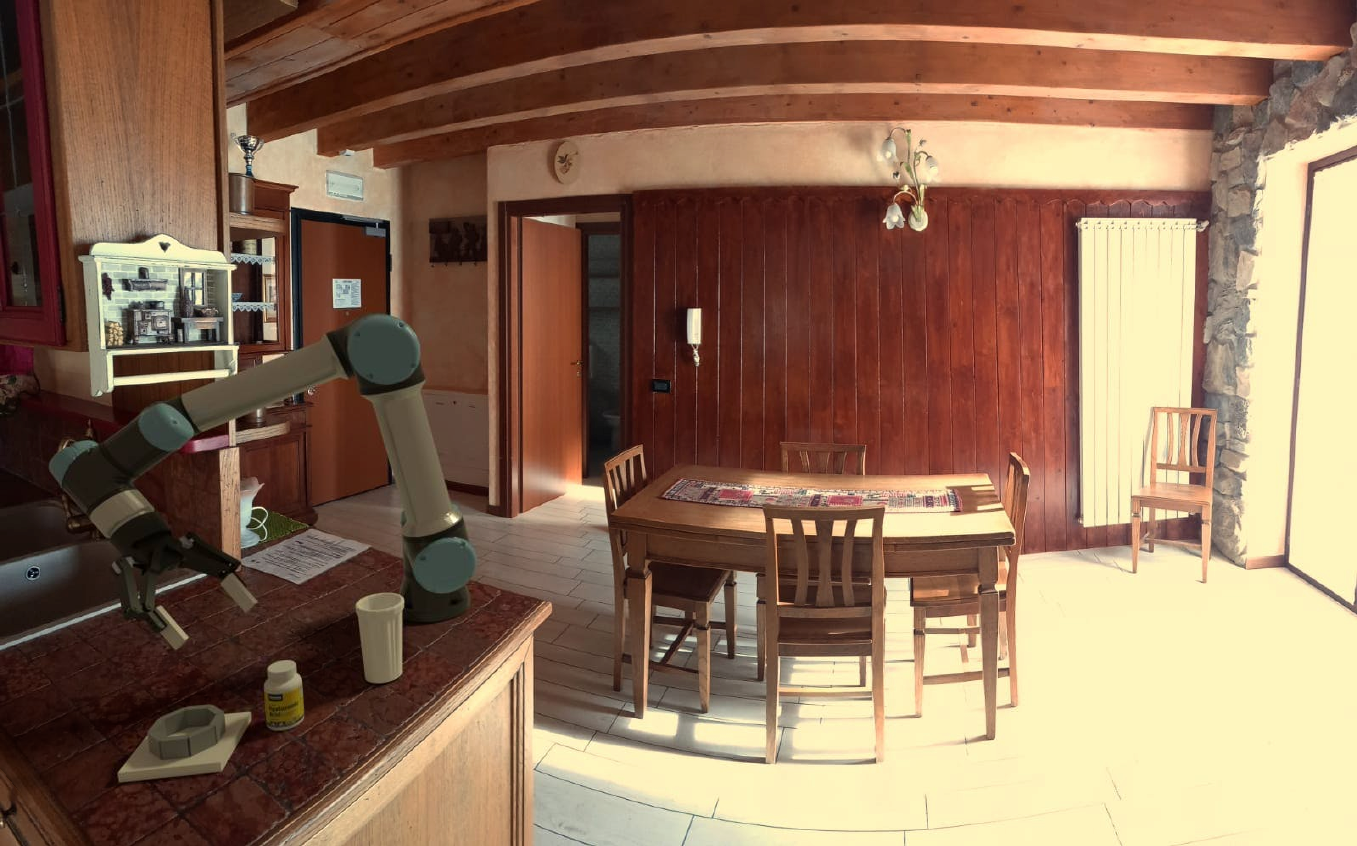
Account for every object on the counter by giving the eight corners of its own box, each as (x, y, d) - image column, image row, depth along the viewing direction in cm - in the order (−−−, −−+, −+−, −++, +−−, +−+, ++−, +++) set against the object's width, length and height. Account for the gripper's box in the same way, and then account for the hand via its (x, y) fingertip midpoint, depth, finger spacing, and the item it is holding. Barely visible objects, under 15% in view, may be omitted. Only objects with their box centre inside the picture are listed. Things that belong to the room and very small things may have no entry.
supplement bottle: (265, 734, 116) (260, 677, 115) (268, 716, 121) (263, 660, 119) (303, 727, 118) (299, 670, 117) (305, 709, 123) (301, 654, 122)
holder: (251, 719, 120) (249, 694, 119) (221, 771, 108) (218, 743, 107) (160, 728, 117) (157, 702, 116) (118, 782, 105) (115, 753, 104)
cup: (392, 690, 130) (388, 613, 127) (349, 685, 131) (345, 608, 128) (416, 667, 137) (413, 594, 135) (376, 662, 139) (372, 590, 136)
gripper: (186, 516, 133) (264, 606, 132) (40, 566, 109) (135, 676, 108) (209, 490, 131) (288, 581, 130) (65, 535, 107) (161, 647, 106)
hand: (218, 624), depth 119 cm, fingers open, 13 cm apart
